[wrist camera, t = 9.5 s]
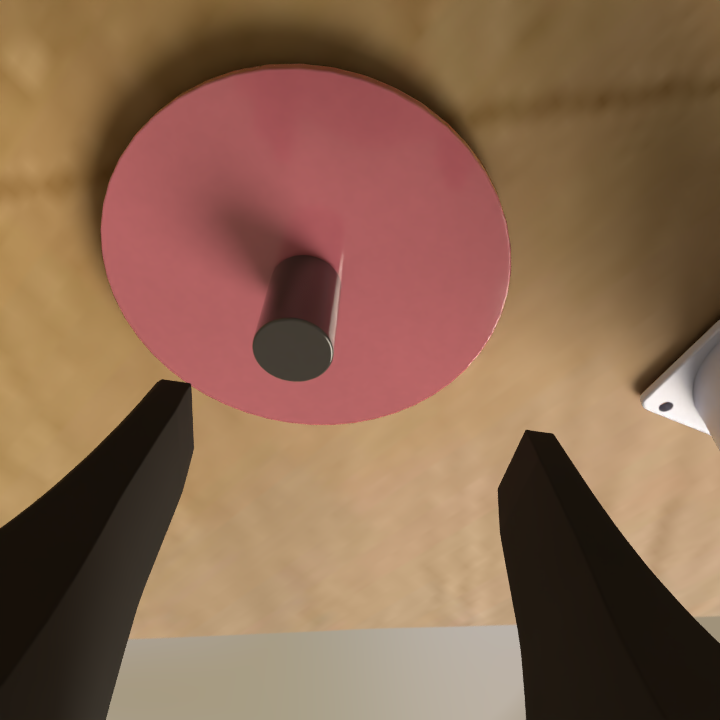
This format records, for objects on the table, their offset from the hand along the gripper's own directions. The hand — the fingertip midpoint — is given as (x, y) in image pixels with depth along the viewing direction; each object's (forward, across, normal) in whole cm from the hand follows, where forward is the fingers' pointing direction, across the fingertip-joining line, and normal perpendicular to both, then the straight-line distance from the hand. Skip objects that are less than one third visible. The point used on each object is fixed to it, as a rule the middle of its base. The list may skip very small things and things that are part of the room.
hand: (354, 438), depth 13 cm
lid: (+9, +2, +2) cm, 9 cm away
